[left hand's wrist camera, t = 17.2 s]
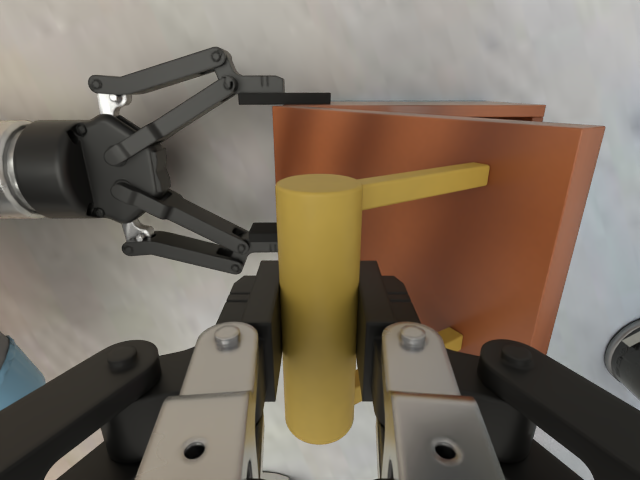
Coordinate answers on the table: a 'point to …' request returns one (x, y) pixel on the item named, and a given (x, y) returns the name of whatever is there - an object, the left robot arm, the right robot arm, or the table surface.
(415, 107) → the chest
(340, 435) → the lid
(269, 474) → the ashtray
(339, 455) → the table surface
